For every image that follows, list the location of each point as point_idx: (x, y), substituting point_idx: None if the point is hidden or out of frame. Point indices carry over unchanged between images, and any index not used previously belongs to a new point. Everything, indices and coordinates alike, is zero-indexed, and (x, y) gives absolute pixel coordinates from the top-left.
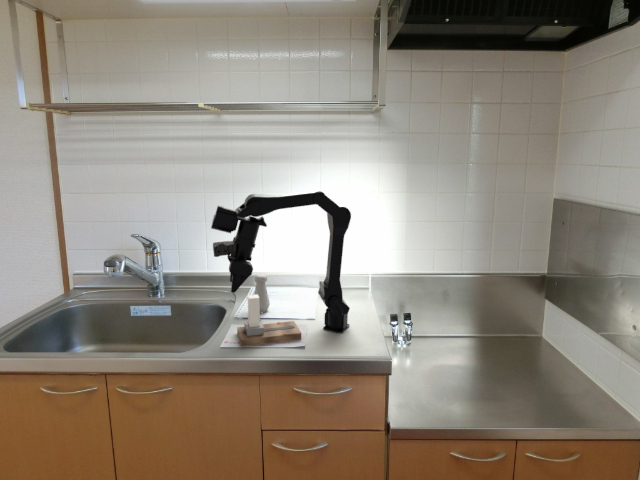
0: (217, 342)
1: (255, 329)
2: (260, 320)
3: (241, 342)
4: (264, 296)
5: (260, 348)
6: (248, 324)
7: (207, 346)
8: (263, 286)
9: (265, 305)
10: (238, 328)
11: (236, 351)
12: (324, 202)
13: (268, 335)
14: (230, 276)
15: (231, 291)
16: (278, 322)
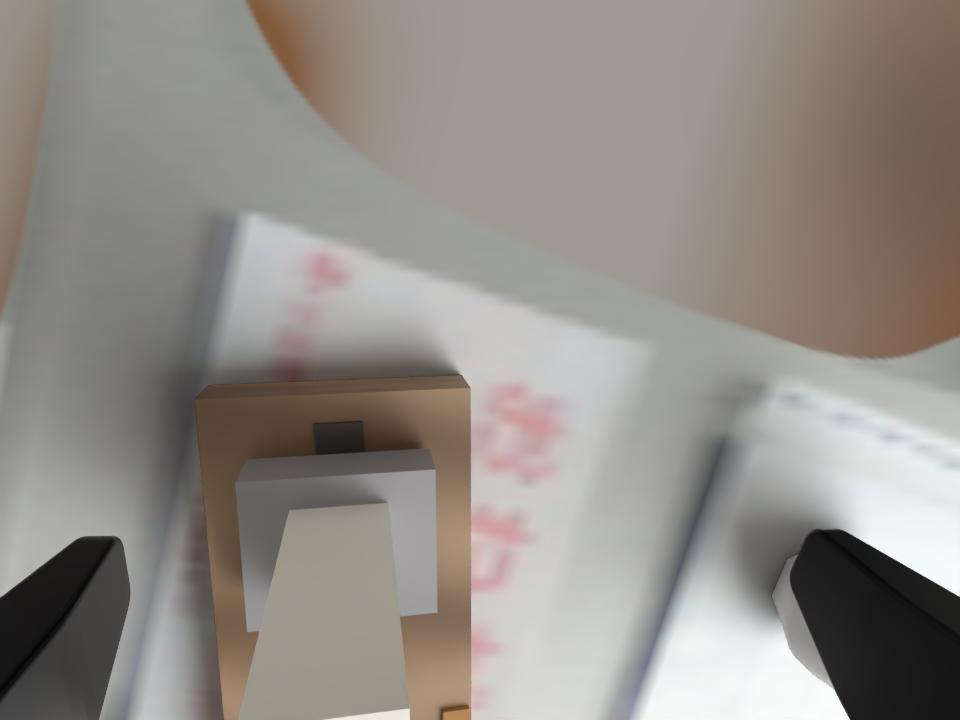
0: (333, 198)
1: (242, 553)
2: (423, 611)
3: (201, 395)
4: None
5: (144, 524)
6: (358, 502)
7: (274, 105)
8: None
9: (798, 649)
10: (443, 396)
11: (126, 337)
12: None
13: (241, 623)
14: (906, 604)
15: (70, 547)
16: (463, 716)
